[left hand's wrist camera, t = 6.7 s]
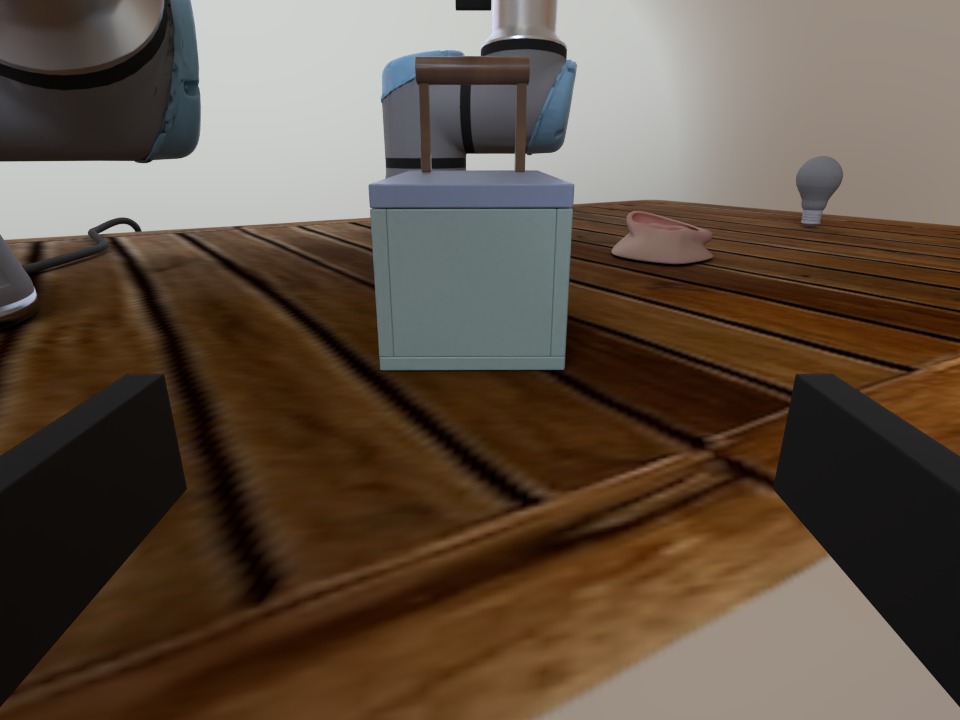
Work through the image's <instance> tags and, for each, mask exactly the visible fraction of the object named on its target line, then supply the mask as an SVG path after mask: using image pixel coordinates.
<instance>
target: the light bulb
mask: <svg viewBox="0 0 960 720" xmlns="http://www.w3.org/2000/svg"><path fill="white" fill-rule="evenodd" d="M842 178H843V171H842V168H841V166H840V164H839V163H838V162H837V161H836V160H835V159H833V158H830V157H827V156H819V157H815V158H812V159H810V160H809V161H807V162H806V163H805V164H804V165H803V166H802V167H801V168H800V170H799V171H798V173H797V176H796V185H797V188H798V191H799V193H800V195H801V198H802V208H803V215H802V216H803V217H802V219H803V220H801V223H803V224H804V225H805V226H815V225H818V224H820V223H821V222H819V221H820V218H821V217H820V216H821V215H822V212H823V210H824V208H825V207H826V205H827V202H828V200H829V198H830V197H831V196H832V194H833V193H834V192H835V191H836V190H837V188H838V187H839V186H840V184H841V181H842Z"/></svg>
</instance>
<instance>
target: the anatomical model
mask: <svg viewBox="0 0 960 720" xmlns="http://www.w3.org/2000/svg"><path fill="white" fill-rule="evenodd" d="M627 226H628V229H629V230H630V232H629V234H628V235H627V236H625V237H624V238H623V239H622V240H620V241H619V242H618V243H617V244H616V245H615V246H614V248H613V249H612V254H614V255H616V256H619V257H622V258H627V259H633V260H639V261H646V262H654V263H663V264H687V263H694V262H700V261H704V260H708V259H711V258H713V255H712V254H711V253H710V252H709V251H708V250H707V249H706V248H705V246H704V244H705V243H707V242H709V241H710V240H711V239H712V237H713V234H712V232H710V231H707V230H704V229H701V228H698V227H695V226H692V225H689V224H686V223H683V222H679V221H676V220H672V219H669V218H666V217H662V216H659V215H655V214H651V213H647V212H642V211H633V212H631V213H629V214H628V216H627Z"/></svg>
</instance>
